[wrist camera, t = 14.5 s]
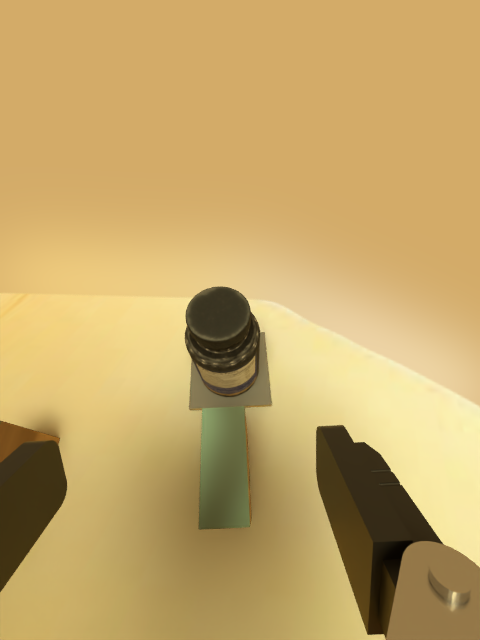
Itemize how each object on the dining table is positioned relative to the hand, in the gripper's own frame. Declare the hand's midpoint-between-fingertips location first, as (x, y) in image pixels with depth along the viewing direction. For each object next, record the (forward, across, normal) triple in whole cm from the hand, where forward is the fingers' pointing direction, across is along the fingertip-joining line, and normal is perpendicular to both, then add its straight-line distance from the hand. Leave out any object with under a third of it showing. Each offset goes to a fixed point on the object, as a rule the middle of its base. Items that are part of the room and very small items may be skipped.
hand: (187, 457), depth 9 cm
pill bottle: (+20, 0, +6) cm, 21 cm away
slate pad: (+21, 0, +6) cm, 22 cm away
